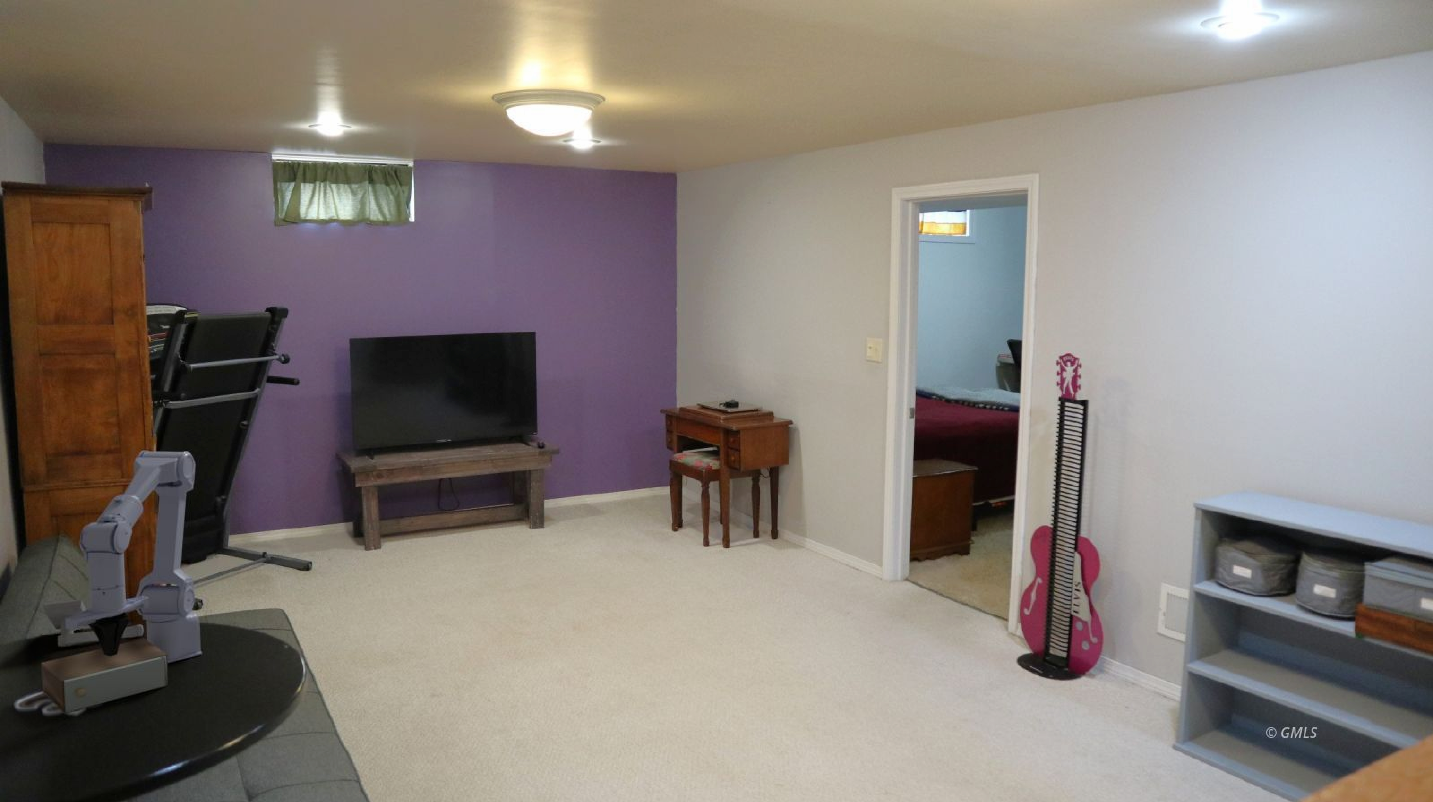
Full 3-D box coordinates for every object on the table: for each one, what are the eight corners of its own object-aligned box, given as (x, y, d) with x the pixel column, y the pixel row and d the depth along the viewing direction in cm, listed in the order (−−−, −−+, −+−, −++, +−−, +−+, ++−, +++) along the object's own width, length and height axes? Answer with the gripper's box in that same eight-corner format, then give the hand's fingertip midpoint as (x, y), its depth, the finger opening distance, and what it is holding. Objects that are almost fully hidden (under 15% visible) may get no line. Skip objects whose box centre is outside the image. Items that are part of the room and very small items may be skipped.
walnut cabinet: (145, 665, 199) (144, 638, 198) (168, 683, 191) (167, 654, 191) (43, 692, 185) (41, 662, 185) (63, 711, 178) (61, 681, 177)
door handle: (55, 658, 216) (43, 642, 199) (54, 623, 218) (42, 604, 202) (146, 644, 224) (141, 628, 208) (144, 610, 227) (140, 591, 211)
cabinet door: (166, 683, 191) (165, 655, 190) (170, 686, 189) (168, 658, 189) (65, 710, 178) (63, 680, 177) (68, 713, 177) (67, 683, 176)
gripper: (131, 571, 188) (134, 637, 190) (53, 592, 175) (57, 663, 177) (154, 577, 185) (157, 644, 187) (77, 598, 172) (81, 671, 174)
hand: (110, 654), depth 182 cm, fingers closed
